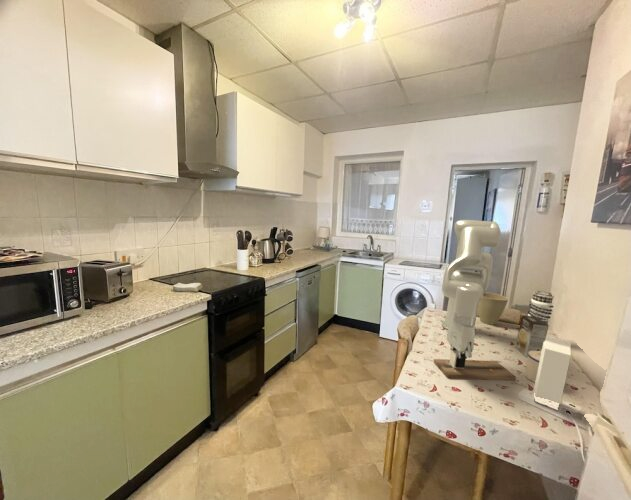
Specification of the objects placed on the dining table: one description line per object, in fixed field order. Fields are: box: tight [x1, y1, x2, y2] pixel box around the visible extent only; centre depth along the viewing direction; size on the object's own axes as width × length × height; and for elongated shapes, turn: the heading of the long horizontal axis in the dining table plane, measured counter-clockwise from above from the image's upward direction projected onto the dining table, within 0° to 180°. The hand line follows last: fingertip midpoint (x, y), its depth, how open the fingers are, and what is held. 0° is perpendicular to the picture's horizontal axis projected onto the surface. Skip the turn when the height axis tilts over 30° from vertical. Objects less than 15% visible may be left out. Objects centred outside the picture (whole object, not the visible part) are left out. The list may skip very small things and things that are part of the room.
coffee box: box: [515, 315, 550, 358], centre depth 117 cm, size 9×6×16 cm
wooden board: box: [433, 358, 517, 381], centre depth 101 cm, size 10×26×2 cm, turn 93°
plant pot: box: [477, 291, 509, 326], centre depth 151 cm, size 15×15×16 cm
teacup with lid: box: [524, 350, 542, 383], centre depth 99 cm, size 12×9×12 cm
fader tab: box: [449, 350, 464, 368], centre depth 100 cm, size 3×4×6 cm
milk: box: [532, 335, 572, 405], centre depth 84 cm, size 6×6×22 cm
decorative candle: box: [527, 290, 555, 325], centre depth 131 cm, size 9×9×25 cm
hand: (456, 363), depth 100 cm, fingers closed on fader tab, 3 cm apart
